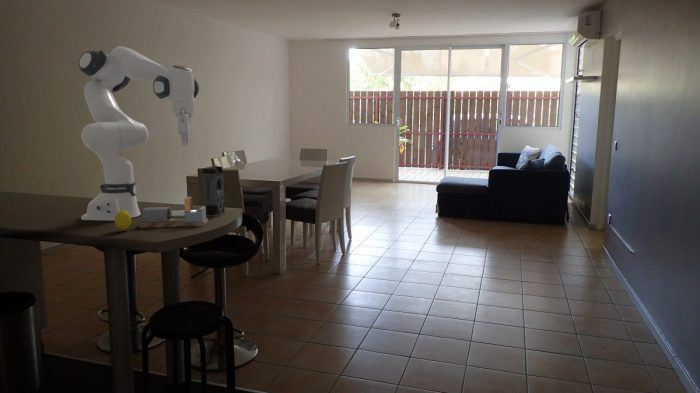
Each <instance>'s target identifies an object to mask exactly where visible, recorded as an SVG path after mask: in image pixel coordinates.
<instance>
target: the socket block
mask: <svg viewBox="0 0 700 393" xmlns="http://www.w3.org/2000/svg"><path fill="white" fill-rule="evenodd" d="M196 210H197V211H198V212H185V220H186V222H203V221H204V220H205V219H206V218H207V217H206V207H205V206H204V205H203V206H201V207H200V208H199V209H196Z"/></svg>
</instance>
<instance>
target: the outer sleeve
mask: <svg viewBox="0 0 700 393" xmlns="http://www.w3.org/2000/svg"><path fill="white" fill-rule="evenodd" d="M141 211H142V222H143V223H157V222H168V221H170V220H171V219H172V218H167V211H171V207H170V206H155V207H154V206H152V207H148V206H146V207H145V208H143V209H142V210H141Z"/></svg>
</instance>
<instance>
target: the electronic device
mask: <svg viewBox="0 0 700 393" xmlns="http://www.w3.org/2000/svg"><path fill="white" fill-rule="evenodd" d="M223 171H224V170H223V166H220V165H213V166H212V165H211V166H206V167H203V168H201V172H202V173H201V174H202V175H201V176H202V191H203V192H202V193H203V194H202V195H203V206H205V207H206V218H207V217H208V218H210V217H211V218H216V217H219V216H220V215H223V214H225V211H226V210H225V194H224V193H225V191H224V173H223Z"/></svg>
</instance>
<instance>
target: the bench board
mask: <svg viewBox="0 0 700 393" xmlns="http://www.w3.org/2000/svg"><path fill="white" fill-rule="evenodd" d="M208 222H209V217H208V218H207V217H206V219H205V220H204V221H203V222H186V220H185V218H171V220H170V221H168V222H157V223H143V221H140V223H139V224H138V225H139V228H177V227H176V226H194V227H204V226H206V224H207V223H208Z"/></svg>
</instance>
